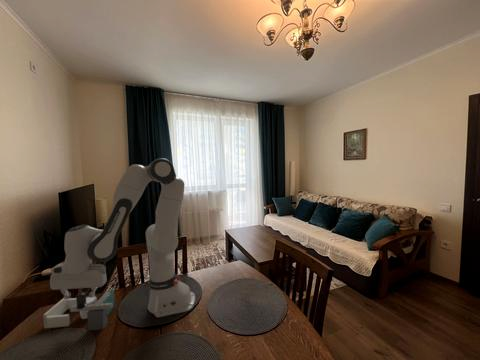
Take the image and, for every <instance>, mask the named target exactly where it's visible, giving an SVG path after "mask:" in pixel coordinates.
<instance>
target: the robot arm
mask: <svg viewBox="0 0 480 360" xmlns="http://www.w3.org/2000/svg"><path fill="white" fill-rule="evenodd" d="M150 182H157V183H160V185H161V190H160V194H159V198H158V201H157V205H156V208H155V221H154V222H155V223H153V224H151V225H149V226H148V227H147V228H146V230H145V240H146V242H145V243H146V251H147V256H148V261H149V276H150V277H149V283H148V284H149V285H148V286H149V299H148V305H147V310H148V311H149V313H151V314H152V315H153V314H154V315H153V316H155V317H156V318H161V317H166V316H171V315H176V314H181V313H185V312H188V311H191V310H192V309H193V307H194V306H195V303H196V295H195V293H194V292H192V291H191V290H190V286H189V285H188V284H187V283H184V282H182V281H181V280H179V279H180V278H179V274H176V273H175V262H174V261H175V260H174V256H173V252H174V251H175V250H176V249H177V248H178V245H179V237H178V231H179V230H178V227H179V215H180V212H181V208H182V203H183V199H184V193H185V181H184V180H183V179H181V178H180V177H178V176H177V174H176V171H175V167H174V165H173V162H171V161H170V160H169V159H167V158H164V157H163V158H162V157H160V158H156V159H154V160H153V161H152V162H151V163H149V164H148V165H147V166H144V165H142V164H136V163H134V164H131V165H130V166H129V167H128V168H127V169H126V170H125V172H124V174H123V175H122V176H121V178H120V179H119V181H118V183H117V185H116V187H115V191H114V193H113V199H112V209H111V211H110V215H109V217H108V219H107V221H106V223H105V225H104V227H103V229H100V228H97V227H92V226H90V225H88V224H80V225H76V226H73V227H72V228H70V229H68V230H67V231H66V232H65V235H64V247H63V248H64V253H65V257H64V258H65V259H64V261H62V262H60V263H58V264H56V265H55V266H54V267H52V268H51V269H50V273H51V274H50V278H49V286H50V289H51V290H53V291H54V290H60V293H61V294H62V296H63V298H64V299H70V298H72V293H71V292H69V290H73V289H87V288H88V289H89V288H90V289H91V291H90V292H89V293H88V297H94V296H96V291H97V289H98V288H102V287H103V286H104V285H105V284H106V283H107V281H108V280H107V278H108V277H107V272H106V271H107V268H106V267H107V266H105V265H104V264H102V263H105V262H109V261H110V260H112V259H113V258H114V257H115V256H116V255H117V253H118V250H119V249H118V248H119V247H118V246H119V244H118V243H119V237H120V234H121V233H122V230H123V228H124V226H125V224H126V222H127V219H128V218H129V216H130V213H131V212H132V211H133V209H134V208H135V206H137V204H138V202H139V201H140V200H141V197H142V195H143V194H144V191H145V189H146V187H147V186H148V184H149V183H150ZM93 262H94V264H93Z"/></svg>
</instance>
